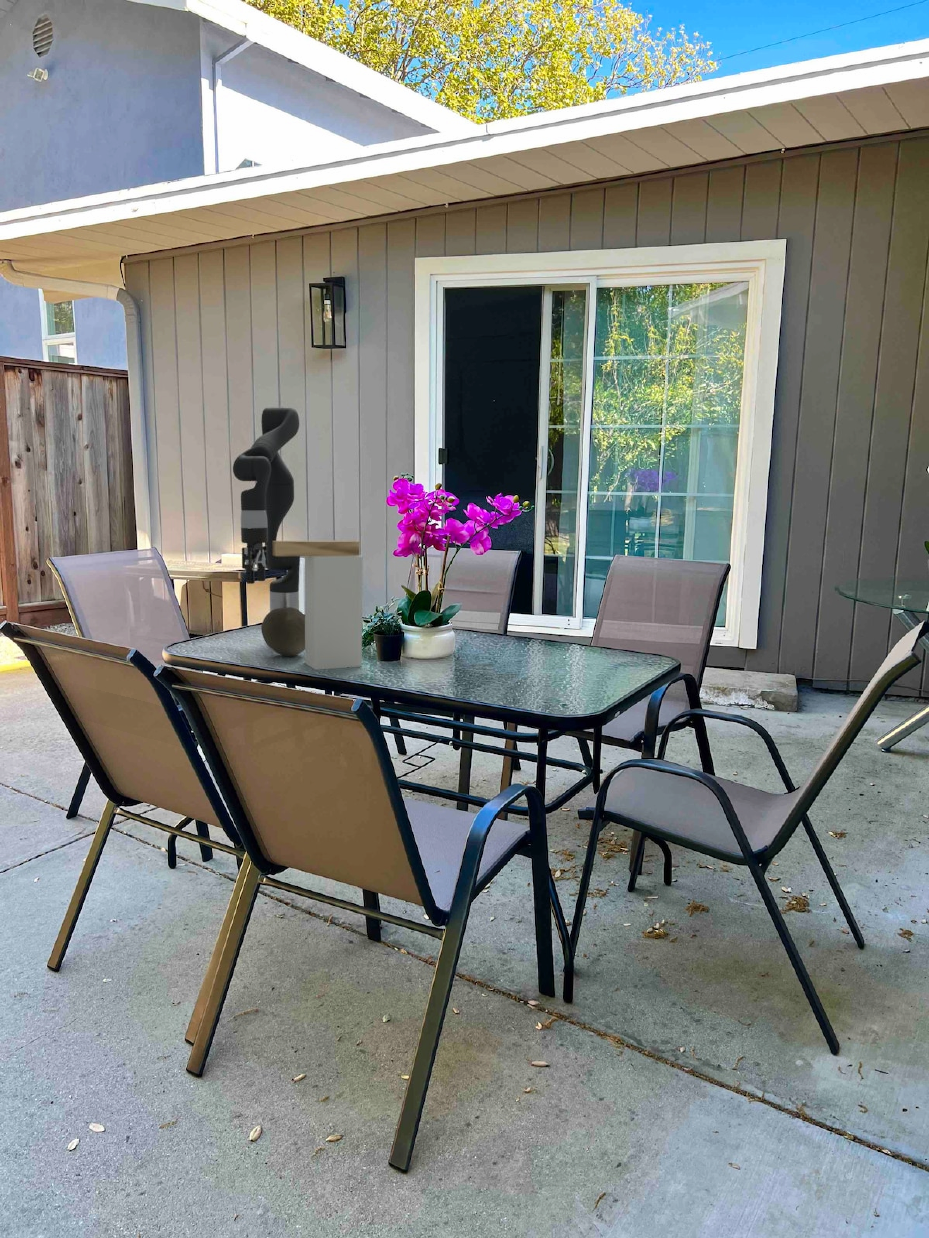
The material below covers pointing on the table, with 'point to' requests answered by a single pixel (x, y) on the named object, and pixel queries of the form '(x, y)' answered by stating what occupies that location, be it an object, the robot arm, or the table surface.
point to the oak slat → (315, 548)
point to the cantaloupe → (285, 631)
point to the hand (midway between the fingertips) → (256, 582)
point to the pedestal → (333, 611)
